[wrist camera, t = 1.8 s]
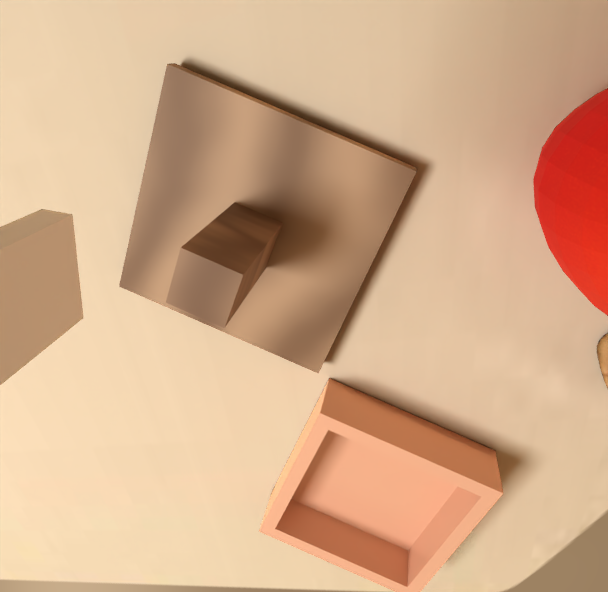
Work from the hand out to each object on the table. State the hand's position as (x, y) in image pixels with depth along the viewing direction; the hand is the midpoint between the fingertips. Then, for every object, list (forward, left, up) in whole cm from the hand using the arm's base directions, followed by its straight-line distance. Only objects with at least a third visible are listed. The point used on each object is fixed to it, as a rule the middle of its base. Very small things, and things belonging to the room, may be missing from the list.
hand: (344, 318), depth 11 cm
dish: (+9, -23, -20) cm, 32 cm away
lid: (-6, -8, -20) cm, 22 cm away
